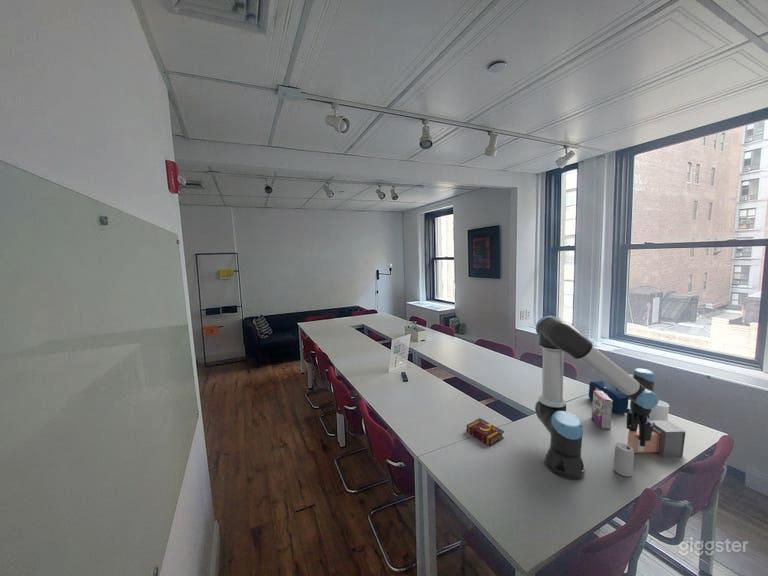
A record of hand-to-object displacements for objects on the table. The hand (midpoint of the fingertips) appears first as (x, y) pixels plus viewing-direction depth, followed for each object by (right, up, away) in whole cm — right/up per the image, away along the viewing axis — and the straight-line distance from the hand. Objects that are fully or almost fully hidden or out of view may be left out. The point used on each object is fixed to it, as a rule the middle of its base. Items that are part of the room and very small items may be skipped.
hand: (636, 448), depth 143 cm
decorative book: (-68, -1, +15) cm, 69 cm away
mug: (+32, +3, +27) cm, 43 cm away
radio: (+15, +4, +40) cm, 43 cm away
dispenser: (+13, -1, 0) cm, 13 cm away
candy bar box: (-1, +2, +23) cm, 23 cm away
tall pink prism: (+5, -1, 0) cm, 5 cm away
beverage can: (-17, -4, -13) cm, 22 cm away
